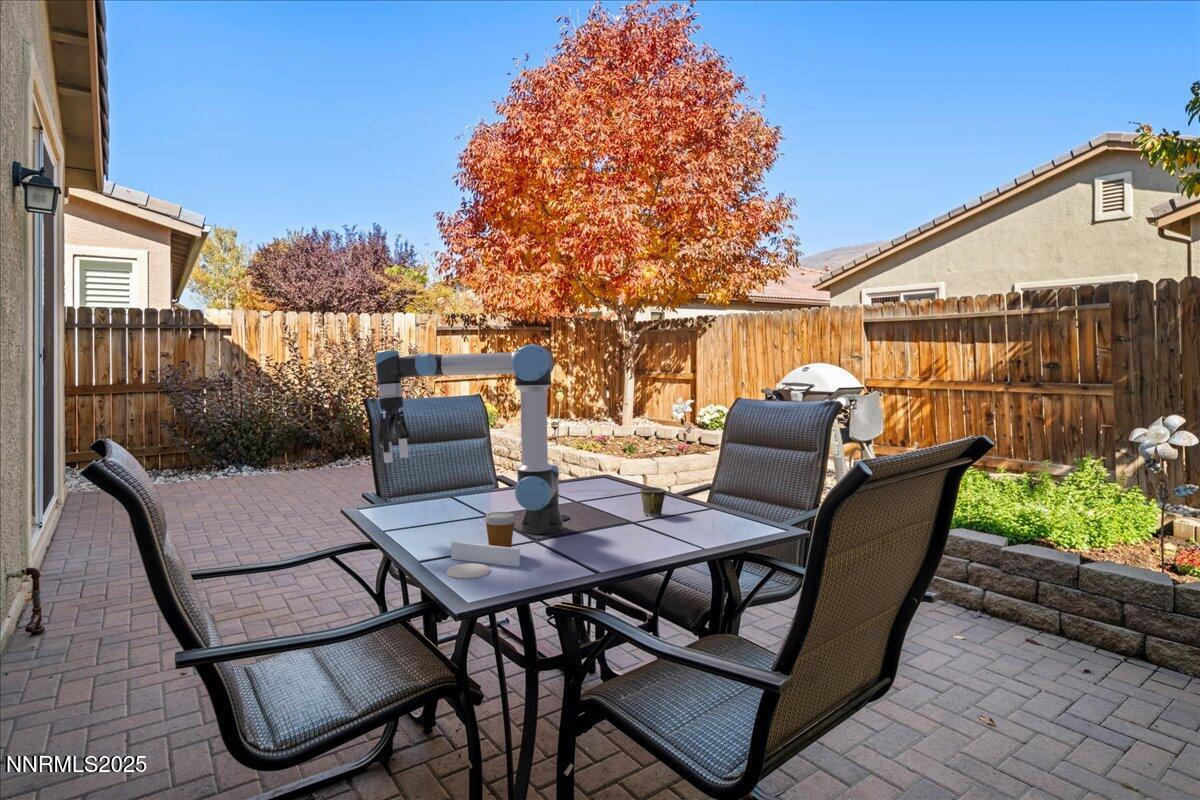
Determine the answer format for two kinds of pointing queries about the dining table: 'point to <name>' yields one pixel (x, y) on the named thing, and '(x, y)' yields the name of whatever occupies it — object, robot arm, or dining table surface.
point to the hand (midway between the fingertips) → (396, 459)
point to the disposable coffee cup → (500, 528)
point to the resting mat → (468, 571)
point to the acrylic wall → (485, 553)
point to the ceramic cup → (652, 500)
